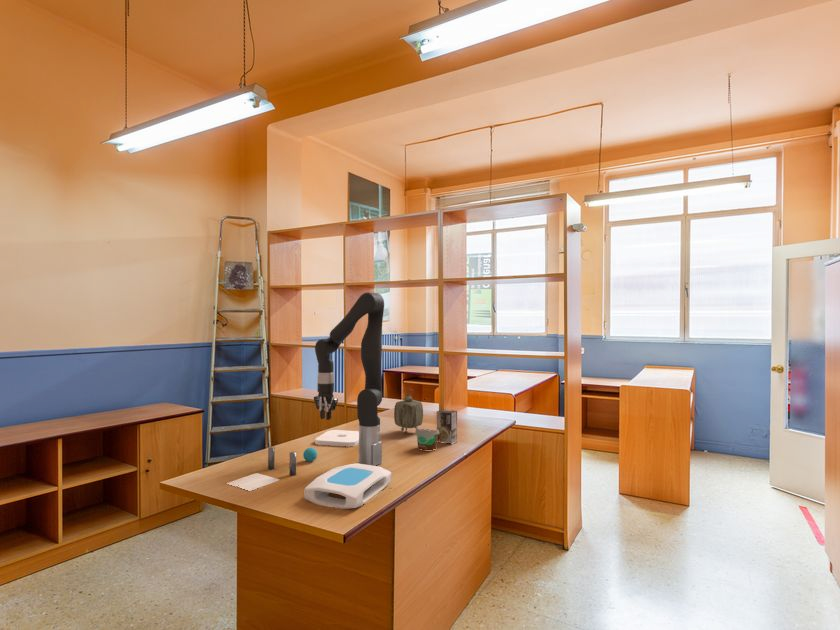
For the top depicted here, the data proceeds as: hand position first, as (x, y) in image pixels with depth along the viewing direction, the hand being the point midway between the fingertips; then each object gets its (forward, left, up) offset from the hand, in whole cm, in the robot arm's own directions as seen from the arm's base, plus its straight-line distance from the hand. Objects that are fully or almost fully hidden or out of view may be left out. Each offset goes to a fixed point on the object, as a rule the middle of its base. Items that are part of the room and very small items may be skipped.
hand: (325, 418), depth 209 cm
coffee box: (-36, -51, -17) cm, 65 cm away
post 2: (-7, +26, -17) cm, 31 cm away
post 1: (+7, +26, -17) cm, 31 cm away
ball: (0, +10, -14) cm, 17 cm away
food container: (-34, -33, -17) cm, 51 cm away
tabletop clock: (-9, -55, -17) cm, 59 cm away
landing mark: (0, +40, -17) cm, 43 cm away
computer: (+12, -24, -18) cm, 33 cm away
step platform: (-38, +27, -18) cm, 50 cm away
